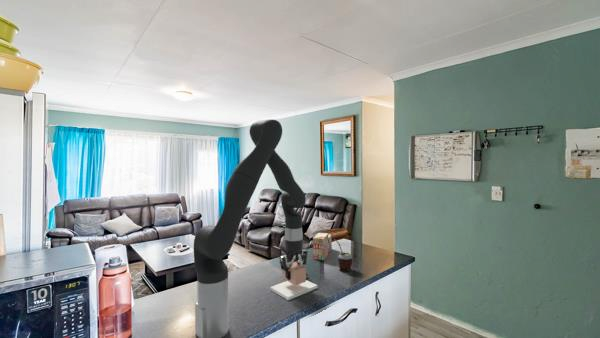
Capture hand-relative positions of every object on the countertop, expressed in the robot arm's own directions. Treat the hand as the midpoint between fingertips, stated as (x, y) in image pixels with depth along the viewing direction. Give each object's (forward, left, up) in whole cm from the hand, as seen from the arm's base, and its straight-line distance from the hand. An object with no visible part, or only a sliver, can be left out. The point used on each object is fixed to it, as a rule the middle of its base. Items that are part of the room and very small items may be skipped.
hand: (294, 277), depth 114 cm
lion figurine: (+9, +12, -5) cm, 16 cm away
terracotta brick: (0, 0, -1) cm, 1 cm away
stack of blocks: (+42, +24, -5) cm, 49 cm away
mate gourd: (+32, -1, -5) cm, 32 cm away
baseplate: (0, 0, -5) cm, 5 cm away
